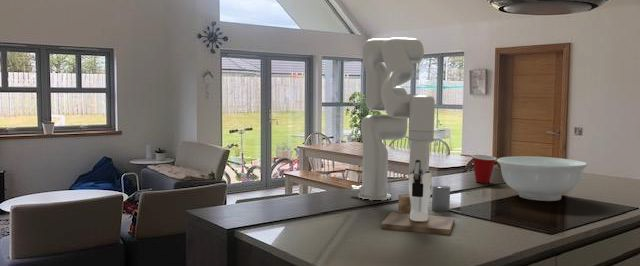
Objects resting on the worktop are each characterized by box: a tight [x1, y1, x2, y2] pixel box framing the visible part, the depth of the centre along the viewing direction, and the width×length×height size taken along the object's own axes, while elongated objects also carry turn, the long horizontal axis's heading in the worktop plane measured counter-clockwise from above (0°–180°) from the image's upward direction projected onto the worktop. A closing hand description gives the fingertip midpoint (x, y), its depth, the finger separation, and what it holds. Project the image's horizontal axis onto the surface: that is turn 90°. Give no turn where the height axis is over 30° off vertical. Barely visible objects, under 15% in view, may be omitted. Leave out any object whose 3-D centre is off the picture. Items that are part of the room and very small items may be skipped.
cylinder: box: [431, 184, 451, 213], centre depth 194 cm, size 6×6×8 cm
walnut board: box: [380, 212, 455, 235], centre depth 172 cm, size 20×16×2 cm
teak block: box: [397, 193, 411, 214], centre depth 188 cm, size 5×5×6 cm
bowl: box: [496, 155, 588, 202], centre depth 218 cm, size 32×32×15 cm
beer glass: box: [408, 170, 433, 222], centre depth 171 cm, size 7×7×15 cm
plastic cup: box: [471, 154, 498, 184], centre depth 252 cm, size 11×11×12 cm
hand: (419, 193), depth 171 cm, fingers open, 7 cm apart
